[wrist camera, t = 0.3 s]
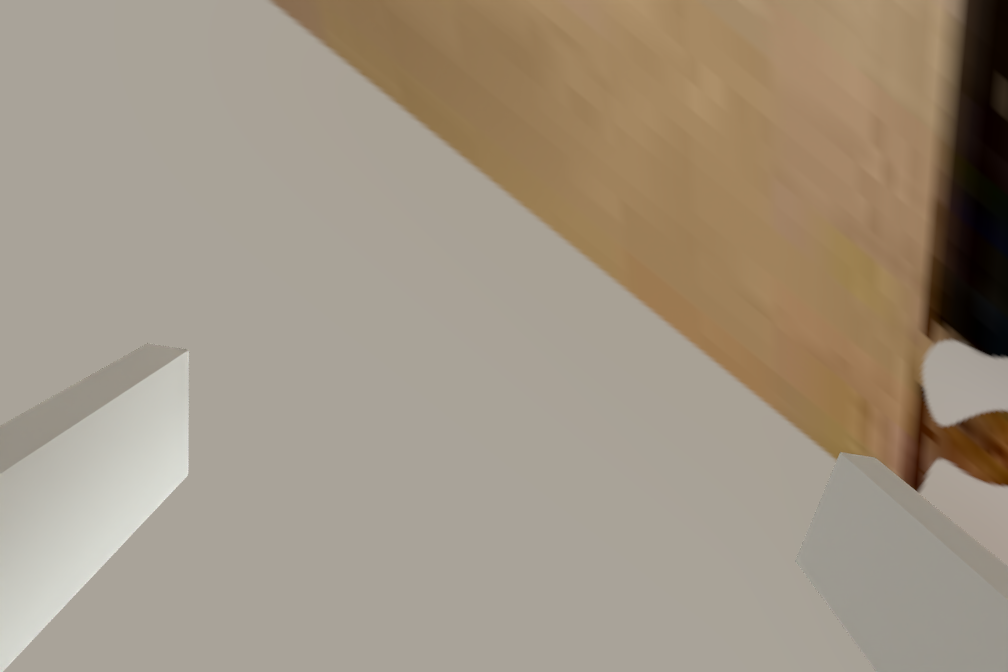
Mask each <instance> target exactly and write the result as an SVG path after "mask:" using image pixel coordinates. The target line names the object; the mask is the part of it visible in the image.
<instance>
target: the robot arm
mask: <svg viewBox="0 0 1008 672" xmlns="http://www.w3.org/2000/svg"><path fill="white" fill-rule="evenodd" d="M188 416H189V350H186V349H180V348H173V347H167V346H161V345H155V344H148V343H147V344H145V345H144V346H142V347H140V348H138V349H136V350H135V351H133V352H131V353H129V354H128V355H126V356H124V357H122V358H120V359H119V360H117V361H115V362H113V363H111V364H110V365H108V366H106V367H104V368H102V369H101V370H99V371H97V372H95V373H94V374H92V375H90V376H88V377H86V378H85V379H83V380H81V381H79V382H78V383H76V384H74V385H72V386H70V387H69V388H67V389H65V390H64V391H62V392H60V393H58V394H56V395H54V396H53V397H51V398H49V399H47V400H45V401H44V402H42V403H40V404H38V405H37V406H35V407H33V408H31V409H29V410H28V411H26V412H24V413H22V414H20V415H19V416H17V417H15V418H13V419H11V420H10V421H8V422H6V423H4V424H3V425H1V426H0V672H3V671H4V670H5V668H7V667H8V666H9V665H10V663H11V662H12V661H13V660H14V659H15V658H16V657H17V656H18V655H19V654H20V653H21V652H22V651H23V649H25V648H26V646H27V645H28V644H29V643H30V642H31V641H32V640H33V639H34V638H35V637H36V636H37V635H38V634H39V633H40V632H41V630H42V629H43V628H44V627H45V626H46V625H47V624H48V623H49V622H50V621H51V620H52V619H53V618H54V617H55V616H56V615H57V614H58V612H59V611H60V610H61V609H62V608H63V607H64V606H65V605H66V604H67V603H68V602H69V601H70V600H71V598H72V597H74V595H75V594H76V593H77V592H78V591H79V590H80V589H81V588H82V587H83V586H84V585H85V584H86V583H87V582H88V580H89V579H90V578H91V577H92V576H93V575H94V574H95V573H96V572H97V571H98V570H99V569H100V568H101V567H102V566H103V565H104V564H105V563H106V561H107V560H108V559H109V558H110V557H111V556H112V555H113V554H114V553H115V552H116V551H117V550H118V549H119V548H120V546H122V544H123V543H124V542H125V541H126V540H127V539H128V538H129V537H130V536H131V535H132V534H133V533H134V532H135V530H137V529H138V527H139V526H140V525H141V524H142V523H143V522H144V521H145V520H146V519H147V518H148V517H149V516H150V515H151V513H153V512H154V510H155V509H156V508H157V507H158V506H159V505H160V504H161V503H162V502H163V501H164V500H165V499H166V498H167V496H169V495H170V493H171V492H172V491H173V490H174V489H175V488H176V487H177V486H178V485H179V484H180V483H181V482H182V481H183V480H184V479H185V477H186V476H187V475H188V448H189V447H188V441H189V440H188V439H189V438H188V437H189V435H188V434H189V427H188V425H189V417H188ZM796 562H797V564H798V565H799V567H800V568H801V569H802V570H803V572H804V573H805V575H806V576H807V578H808V579H809V580H810V582H811V583H812V584H813V586H814V587H815V589H816V590H817V591H818V593H819V594H820V595H821V597H822V598H823V599H824V601H825V602H826V604H827V605H828V606H829V608H830V609H831V611H832V612H833V613H834V615H835V616H836V617H837V619H838V620H839V622H840V623H841V624H842V626H843V627H844V629H845V630H846V631H847V633H848V634H849V635H850V636H851V638H852V640H853V641H854V642H855V644H856V645H857V646H858V648H859V649H860V651H861V652H862V653H863V655H864V656H865V657H866V659H867V660H868V662H869V663H870V664H871V666H872V667H873V668H874V670H875V671H876V672H1008V566H1007V565H1006V564H1005V563H1003V562H1002V561H1001V560H1000V559H999V558H997V557H996V556H995V555H994V554H992V553H991V552H990V551H989V550H988V549H986V548H985V547H984V546H983V545H981V544H980V543H979V542H978V541H977V540H975V539H974V538H973V537H972V536H970V535H969V534H968V533H967V532H966V531H964V530H963V529H962V528H961V527H959V526H958V525H957V524H955V523H954V522H953V521H952V520H951V519H950V518H948V517H947V516H946V515H945V514H943V513H942V512H941V511H940V510H939V509H937V508H936V507H935V506H934V505H932V504H931V503H930V502H929V501H927V500H926V499H925V498H924V497H923V496H921V495H920V494H919V493H918V492H916V491H915V490H914V489H913V488H912V487H910V486H909V485H908V484H907V483H905V482H904V481H903V480H902V479H901V478H899V477H898V476H897V475H896V474H894V473H893V472H892V471H891V470H889V469H888V468H887V467H886V466H885V465H883V464H882V463H881V462H880V461H878V460H877V459H876V458H873V457H867V456H861V455H854V454H848V453H841V452H840V454H839V457H838V459H837V461H836V464H835V466H834V469H833V471H832V473H831V476H830V478H829V481H828V483H827V485H826V488H825V490H824V493H823V495H822V498H821V500H820V502H819V505H818V507H817V510H816V512H815V514H814V517H813V519H812V522H811V524H810V527H809V529H808V531H807V534H806V536H805V539H804V541H803V543H802V546H801V548H800V551H799V553H798V556H797V558H796Z"/></svg>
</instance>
